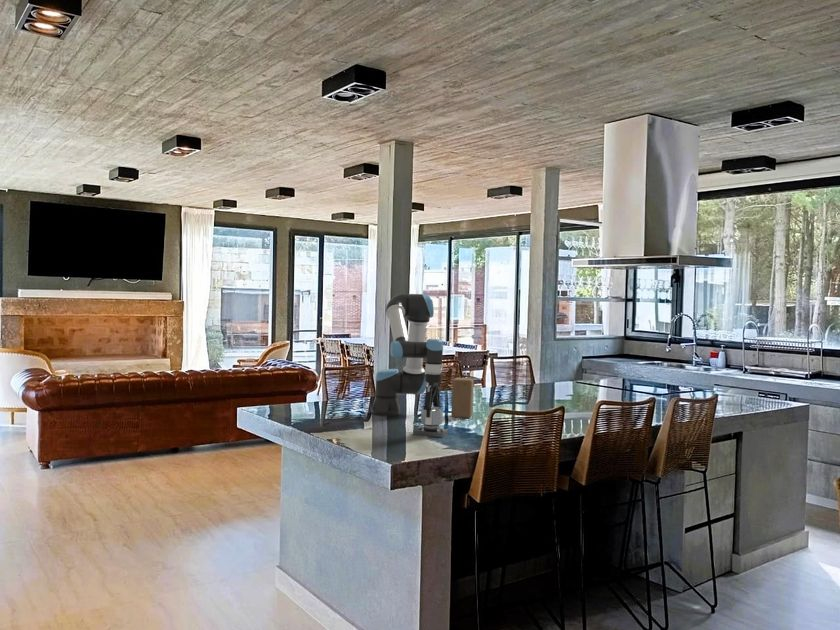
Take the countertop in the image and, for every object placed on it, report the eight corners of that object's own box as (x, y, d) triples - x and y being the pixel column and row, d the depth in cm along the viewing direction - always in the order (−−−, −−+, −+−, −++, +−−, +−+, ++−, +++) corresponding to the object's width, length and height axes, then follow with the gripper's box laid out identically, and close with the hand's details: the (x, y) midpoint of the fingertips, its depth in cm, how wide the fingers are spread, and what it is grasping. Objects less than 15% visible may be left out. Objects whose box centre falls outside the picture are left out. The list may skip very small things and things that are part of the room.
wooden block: (470, 418, 367) (471, 380, 366) (451, 417, 369) (452, 379, 368) (472, 415, 377) (474, 378, 376) (453, 414, 379) (455, 377, 378)
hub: (419, 423, 318) (419, 410, 318) (425, 420, 327) (425, 407, 327) (438, 425, 315) (438, 412, 315) (443, 422, 324) (444, 409, 324)
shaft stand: (412, 434, 319) (413, 410, 318) (419, 430, 328) (420, 407, 328) (442, 437, 314) (443, 413, 314) (448, 433, 324) (449, 409, 323)
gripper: (434, 376, 309) (432, 427, 310) (448, 371, 330) (446, 419, 330) (418, 374, 311) (416, 425, 312) (432, 370, 332) (430, 418, 332)
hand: (431, 422), depth 321 cm, fingers closed on hub, 9 cm apart
